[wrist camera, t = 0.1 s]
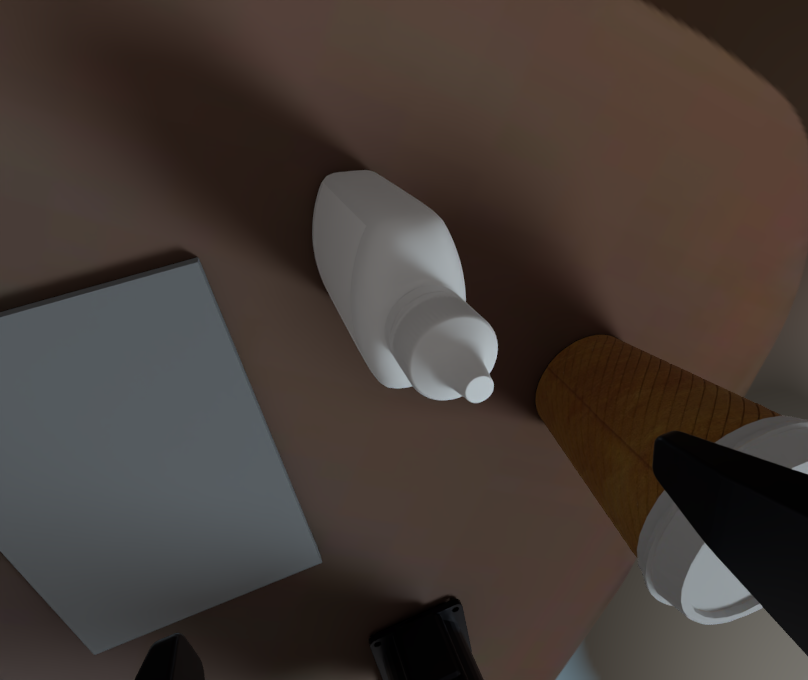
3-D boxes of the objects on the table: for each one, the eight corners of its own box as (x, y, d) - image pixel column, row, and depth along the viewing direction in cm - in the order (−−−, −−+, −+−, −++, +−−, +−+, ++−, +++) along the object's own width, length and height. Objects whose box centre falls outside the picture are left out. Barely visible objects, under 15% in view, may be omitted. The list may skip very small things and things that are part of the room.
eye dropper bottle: (277, 281, 21) (339, 473, 11) (332, 150, 20) (460, 237, 10) (370, 313, 23) (493, 500, 13) (426, 196, 22) (614, 308, 12)
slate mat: (320, 553, 29) (322, 562, 29) (96, 643, 27) (94, 655, 26) (198, 257, 20) (197, 262, 19) (-158, 356, 18) (-169, 364, 17)
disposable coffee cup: (669, 384, 32) (879, 529, 22) (546, 476, 32) (699, 661, 22) (627, 271, 27) (875, 393, 17) (480, 381, 27) (640, 566, 17)
